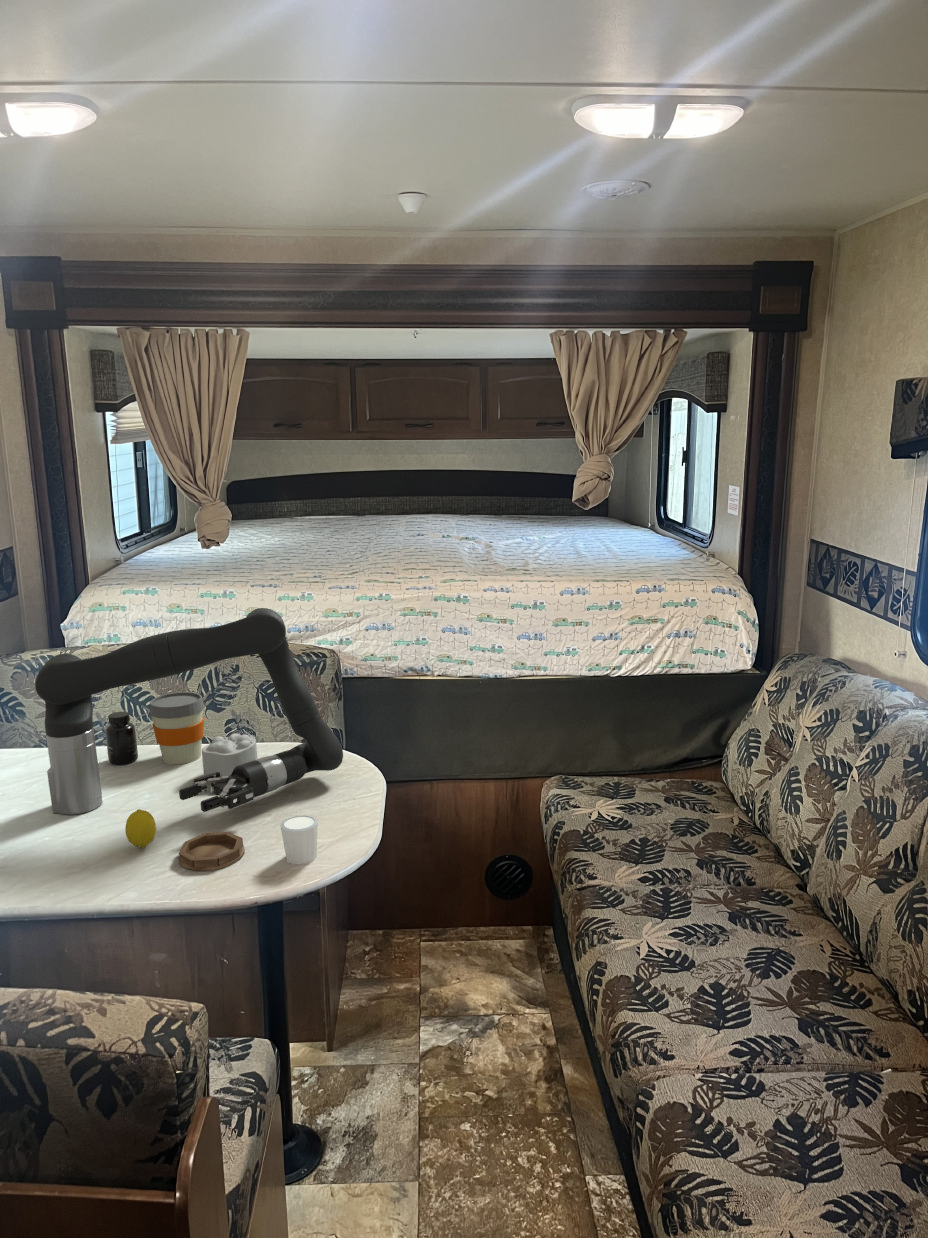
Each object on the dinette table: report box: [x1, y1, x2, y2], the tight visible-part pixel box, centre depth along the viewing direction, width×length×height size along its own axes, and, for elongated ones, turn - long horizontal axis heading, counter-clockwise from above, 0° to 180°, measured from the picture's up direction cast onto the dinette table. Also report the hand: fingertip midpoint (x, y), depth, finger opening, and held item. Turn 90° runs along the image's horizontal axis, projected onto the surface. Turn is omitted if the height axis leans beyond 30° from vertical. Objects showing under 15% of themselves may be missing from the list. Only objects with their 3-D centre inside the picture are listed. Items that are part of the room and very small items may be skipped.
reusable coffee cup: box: [149, 691, 205, 765], centre depth 212 cm, size 13×13×15 cm
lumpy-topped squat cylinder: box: [201, 733, 258, 777], centre depth 202 cm, size 10×13×9 cm
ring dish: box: [178, 831, 246, 872], centre depth 163 cm, size 12×12×2 cm
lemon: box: [124, 808, 157, 849], centre depth 166 cm, size 6×6×8 cm
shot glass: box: [280, 814, 319, 865], centre depth 161 cm, size 7×7×7 cm
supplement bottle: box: [104, 711, 139, 766], centre depth 211 cm, size 7×7×12 cm
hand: (190, 801), depth 173 cm, fingers open, 8 cm apart
